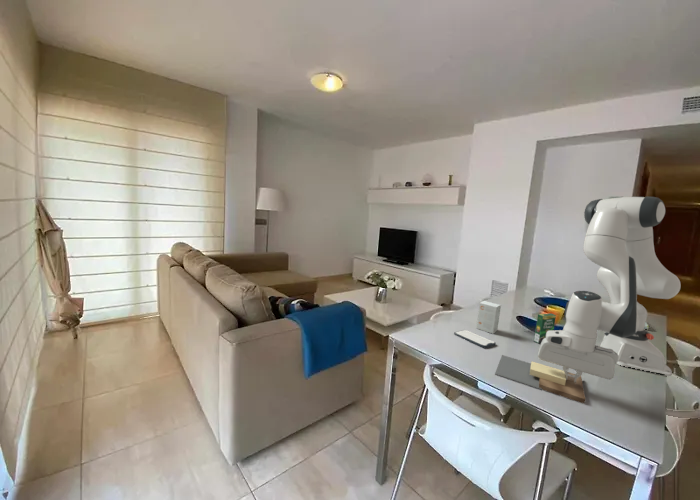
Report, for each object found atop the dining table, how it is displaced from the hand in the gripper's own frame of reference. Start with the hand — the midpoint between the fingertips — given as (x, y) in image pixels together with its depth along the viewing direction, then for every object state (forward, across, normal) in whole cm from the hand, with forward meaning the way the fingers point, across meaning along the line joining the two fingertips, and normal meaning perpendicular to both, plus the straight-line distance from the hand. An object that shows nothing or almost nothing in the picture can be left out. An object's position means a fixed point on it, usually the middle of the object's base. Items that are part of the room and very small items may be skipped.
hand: (570, 380), depth 101 cm
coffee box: (+2, +8, -38) cm, 39 cm away
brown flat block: (+2, +2, 0) cm, 3 cm away
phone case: (+3, +34, -18) cm, 38 cm away
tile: (+1, +6, 0) cm, 7 cm away
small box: (+2, +31, -35) cm, 47 cm away
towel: (+3, -31, -112) cm, 116 cm away
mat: (+2, +14, 0) cm, 15 cm away
